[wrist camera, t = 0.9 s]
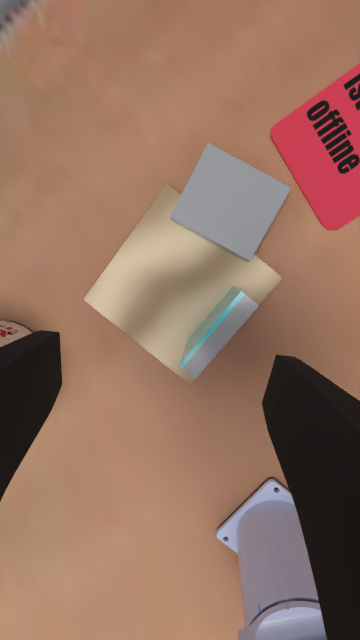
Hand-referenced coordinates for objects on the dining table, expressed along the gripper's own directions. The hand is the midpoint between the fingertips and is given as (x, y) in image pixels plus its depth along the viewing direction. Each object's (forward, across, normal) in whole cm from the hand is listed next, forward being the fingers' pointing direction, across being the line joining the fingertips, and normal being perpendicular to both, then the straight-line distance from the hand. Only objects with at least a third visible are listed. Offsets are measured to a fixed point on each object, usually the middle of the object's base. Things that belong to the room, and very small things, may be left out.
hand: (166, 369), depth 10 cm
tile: (+15, -4, +4) cm, 16 cm away
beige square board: (+16, -1, +2) cm, 16 cm away
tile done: (+17, -4, -4) cm, 18 cm away
